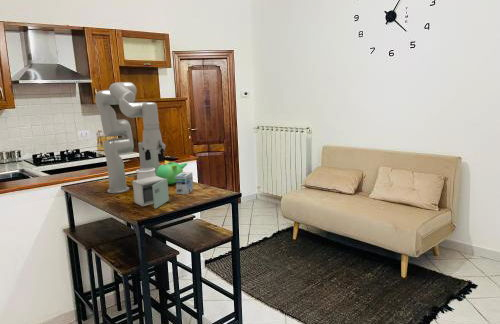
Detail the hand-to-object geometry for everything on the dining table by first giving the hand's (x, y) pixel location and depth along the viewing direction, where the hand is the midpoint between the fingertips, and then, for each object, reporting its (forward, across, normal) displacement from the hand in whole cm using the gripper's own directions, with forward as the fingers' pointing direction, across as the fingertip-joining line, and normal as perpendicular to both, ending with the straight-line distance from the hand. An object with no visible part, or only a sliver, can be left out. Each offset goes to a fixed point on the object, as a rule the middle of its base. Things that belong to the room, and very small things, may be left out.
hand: (154, 160), depth 193 cm
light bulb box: (+24, -4, +24) cm, 34 cm away
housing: (+23, -8, +1) cm, 25 cm away
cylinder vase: (+23, -49, +38) cm, 67 cm away
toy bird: (+23, -27, +35) cm, 50 cm away
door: (+23, +2, 0) cm, 23 cm away
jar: (+23, -20, +10) cm, 32 cm away
